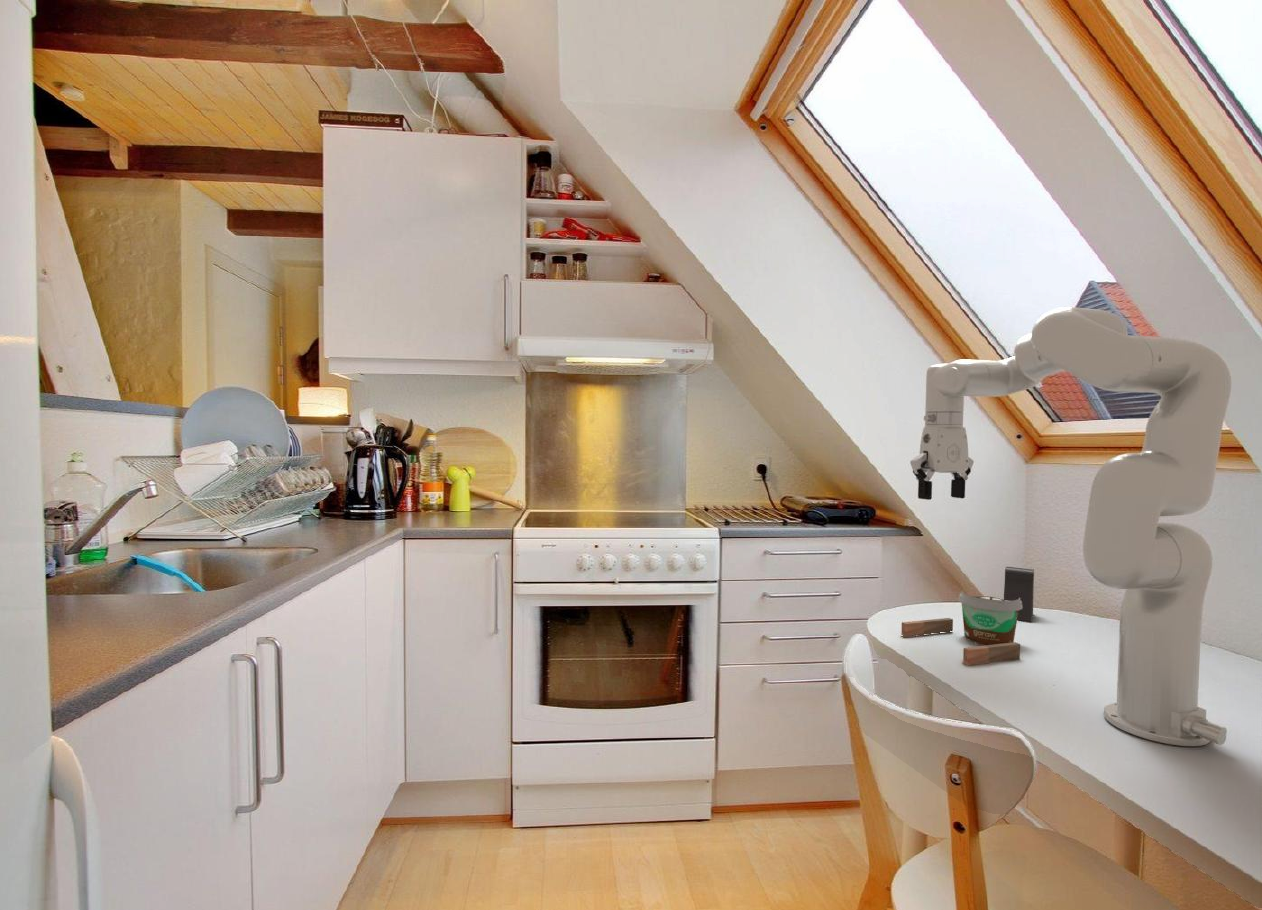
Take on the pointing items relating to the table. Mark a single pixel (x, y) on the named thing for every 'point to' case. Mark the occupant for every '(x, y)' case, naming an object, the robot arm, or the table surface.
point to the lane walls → (969, 654)
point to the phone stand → (1020, 590)
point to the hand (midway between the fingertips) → (941, 498)
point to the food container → (989, 619)
